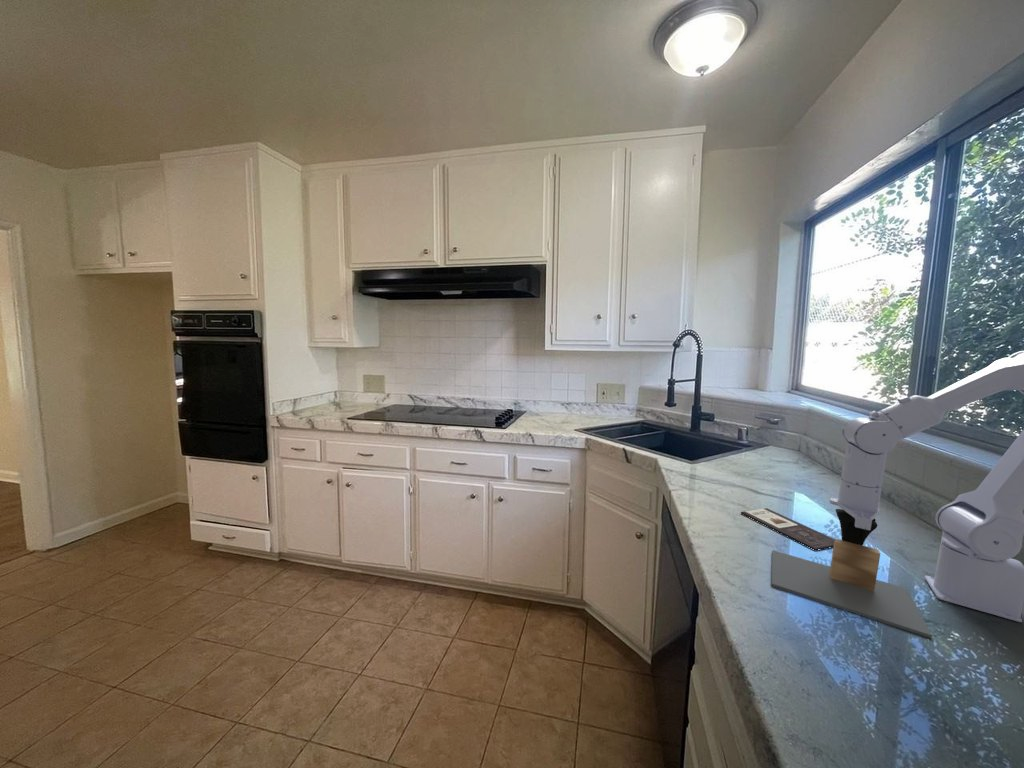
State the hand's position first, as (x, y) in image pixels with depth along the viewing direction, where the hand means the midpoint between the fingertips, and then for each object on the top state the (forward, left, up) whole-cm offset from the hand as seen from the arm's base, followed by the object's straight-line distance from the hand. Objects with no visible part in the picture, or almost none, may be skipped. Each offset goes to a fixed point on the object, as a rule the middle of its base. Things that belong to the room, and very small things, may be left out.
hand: (850, 550), depth 74 cm
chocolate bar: (+9, -15, -5) cm, 18 cm away
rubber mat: (+2, +8, -4) cm, 9 cm away
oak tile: (0, +5, -4) cm, 6 cm away
